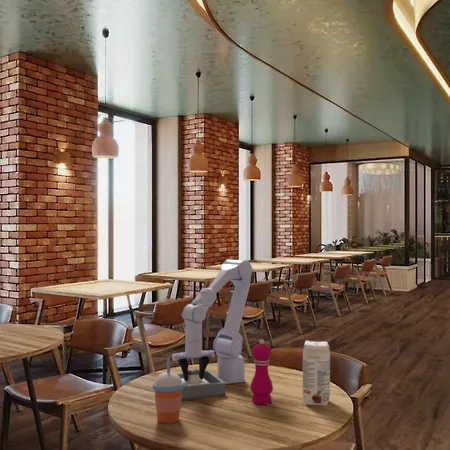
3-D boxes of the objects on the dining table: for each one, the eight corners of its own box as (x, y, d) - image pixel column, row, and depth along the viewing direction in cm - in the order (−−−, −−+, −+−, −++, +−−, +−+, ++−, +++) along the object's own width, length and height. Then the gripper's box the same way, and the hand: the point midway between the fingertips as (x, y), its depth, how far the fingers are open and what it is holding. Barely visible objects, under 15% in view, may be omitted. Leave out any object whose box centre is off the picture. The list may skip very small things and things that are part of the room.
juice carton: (329, 407, 157) (330, 346, 157) (302, 405, 159) (302, 344, 159) (329, 399, 165) (330, 340, 165) (303, 397, 167) (303, 339, 167)
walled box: (208, 381, 183) (208, 370, 183) (225, 394, 169) (225, 382, 169) (163, 386, 177) (163, 374, 177) (176, 401, 162) (176, 388, 162)
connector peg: (199, 386, 175) (199, 368, 175) (198, 389, 171) (198, 371, 171) (188, 387, 175) (187, 369, 175) (186, 389, 171) (186, 371, 172)
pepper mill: (271, 406, 158) (271, 342, 158) (248, 404, 160) (248, 341, 160) (273, 398, 165) (274, 337, 165) (252, 396, 167) (252, 336, 167)
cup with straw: (146, 422, 145) (146, 359, 145) (164, 411, 153) (164, 352, 153) (172, 428, 141) (172, 363, 141) (189, 417, 149) (190, 356, 149)
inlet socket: (201, 383, 178) (201, 376, 178) (209, 391, 171) (209, 383, 171) (178, 386, 175) (178, 379, 175) (185, 394, 167) (185, 386, 167)
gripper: (209, 335, 179) (209, 374, 179) (169, 339, 174) (169, 378, 174) (216, 340, 173) (216, 379, 173) (175, 343, 167) (175, 384, 167)
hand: (193, 379), depth 173 cm, fingers open, 5 cm apart
